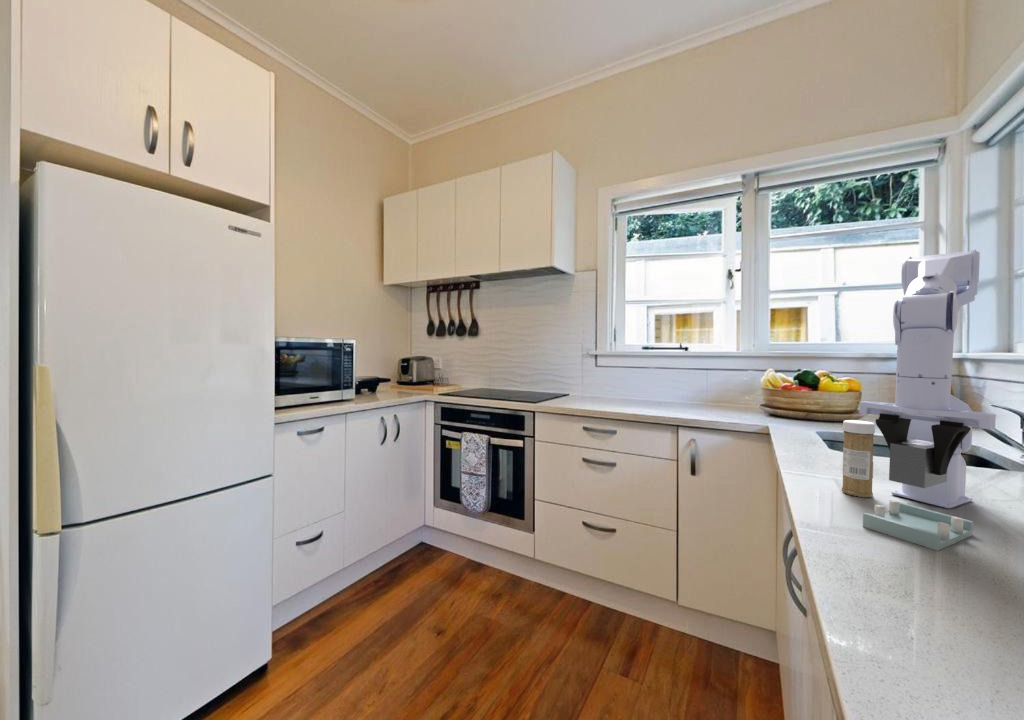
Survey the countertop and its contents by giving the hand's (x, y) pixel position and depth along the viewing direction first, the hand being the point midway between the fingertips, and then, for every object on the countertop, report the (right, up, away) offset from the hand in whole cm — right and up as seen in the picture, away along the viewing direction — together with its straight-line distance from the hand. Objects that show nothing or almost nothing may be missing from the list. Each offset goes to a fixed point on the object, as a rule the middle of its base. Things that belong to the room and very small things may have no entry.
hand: (918, 469), depth 63 cm
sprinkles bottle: (+4, -9, +16) cm, 19 cm away
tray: (0, -9, 0) cm, 9 cm away
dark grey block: (0, -2, 0) cm, 2 cm away
